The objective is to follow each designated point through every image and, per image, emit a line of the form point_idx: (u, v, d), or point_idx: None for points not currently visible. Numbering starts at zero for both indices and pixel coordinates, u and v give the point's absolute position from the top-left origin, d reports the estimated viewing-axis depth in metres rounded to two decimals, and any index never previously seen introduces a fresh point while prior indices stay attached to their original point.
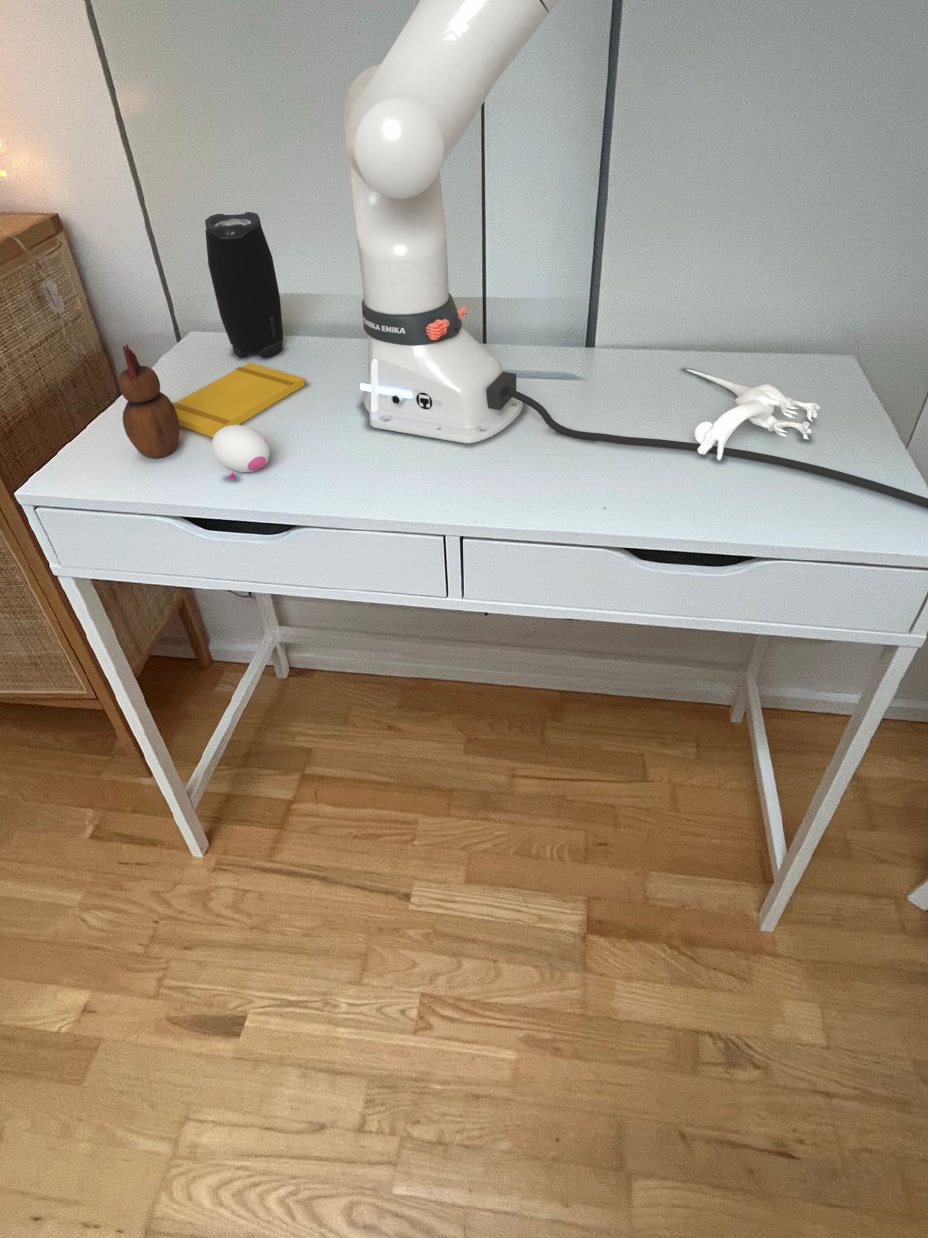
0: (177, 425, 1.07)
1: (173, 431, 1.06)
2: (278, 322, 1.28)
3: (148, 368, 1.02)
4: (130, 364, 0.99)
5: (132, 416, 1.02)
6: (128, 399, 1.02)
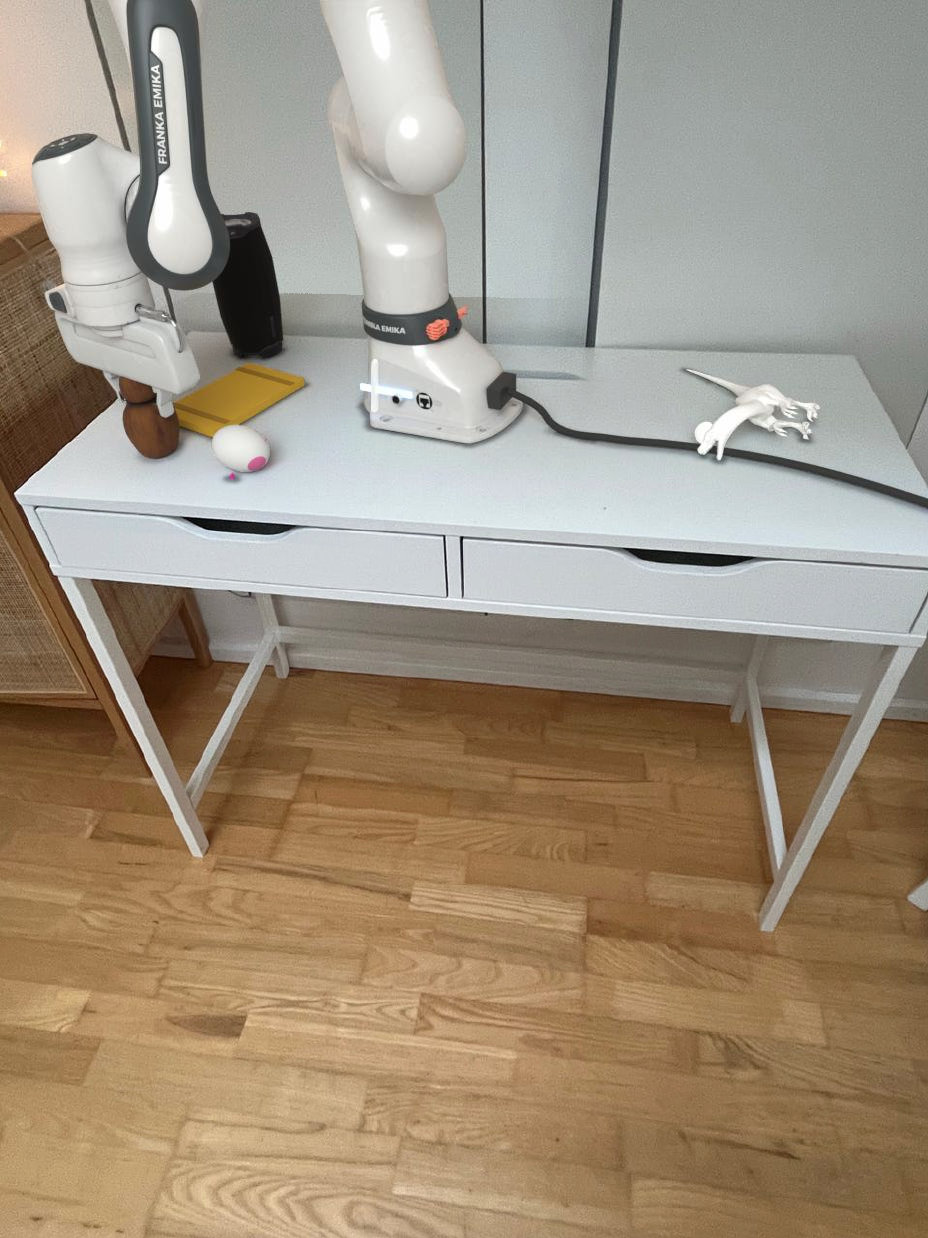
0: (177, 425, 1.07)
1: (173, 431, 1.06)
2: (278, 322, 1.28)
3: None
4: None
5: (132, 416, 1.02)
6: (128, 399, 1.02)
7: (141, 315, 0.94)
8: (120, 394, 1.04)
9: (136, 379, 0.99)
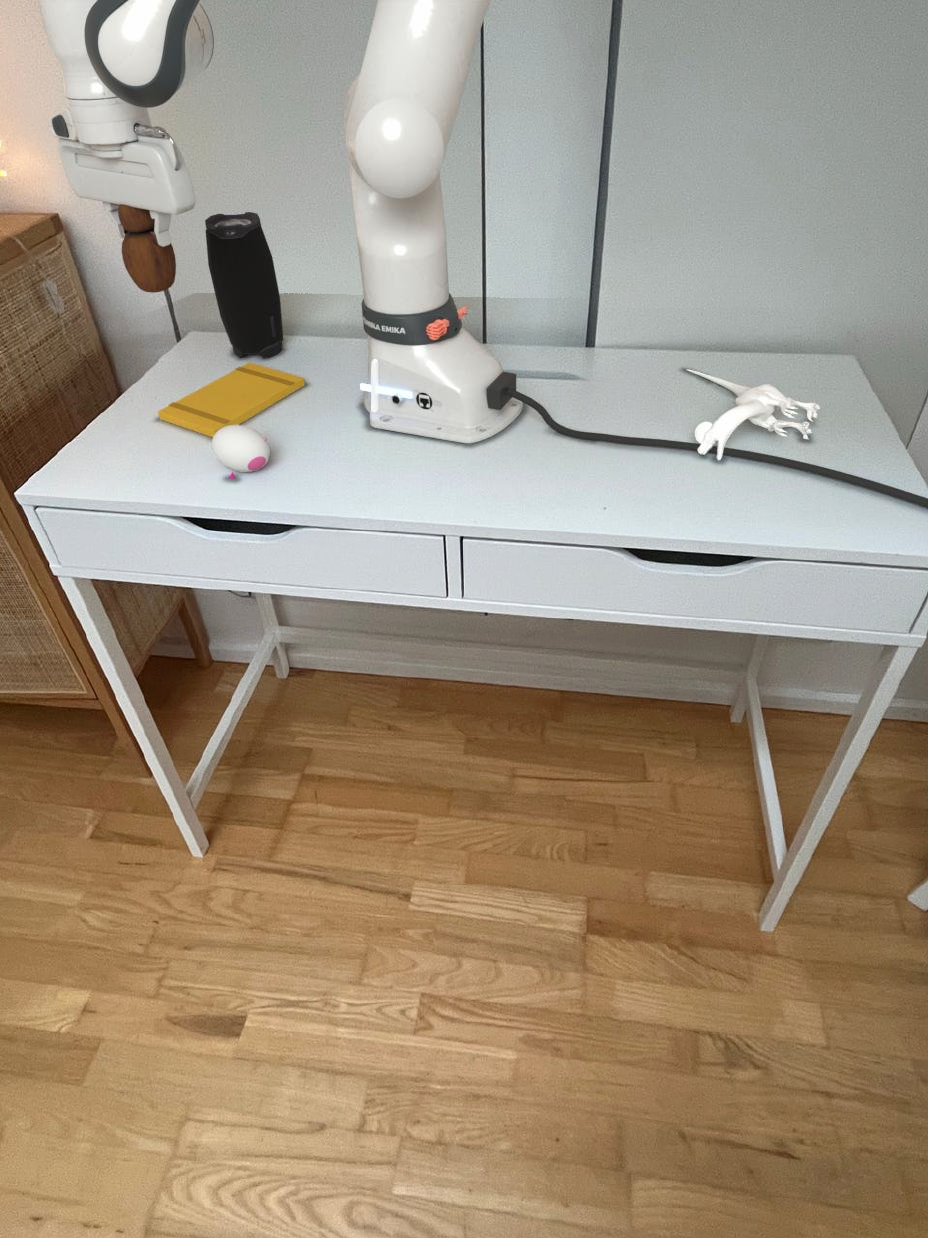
0: (174, 260, 1.12)
1: (170, 264, 1.11)
2: (278, 322, 1.28)
3: None
4: None
5: (131, 245, 1.07)
6: (127, 228, 1.07)
7: (139, 134, 0.99)
8: (119, 227, 1.09)
9: (135, 204, 1.04)
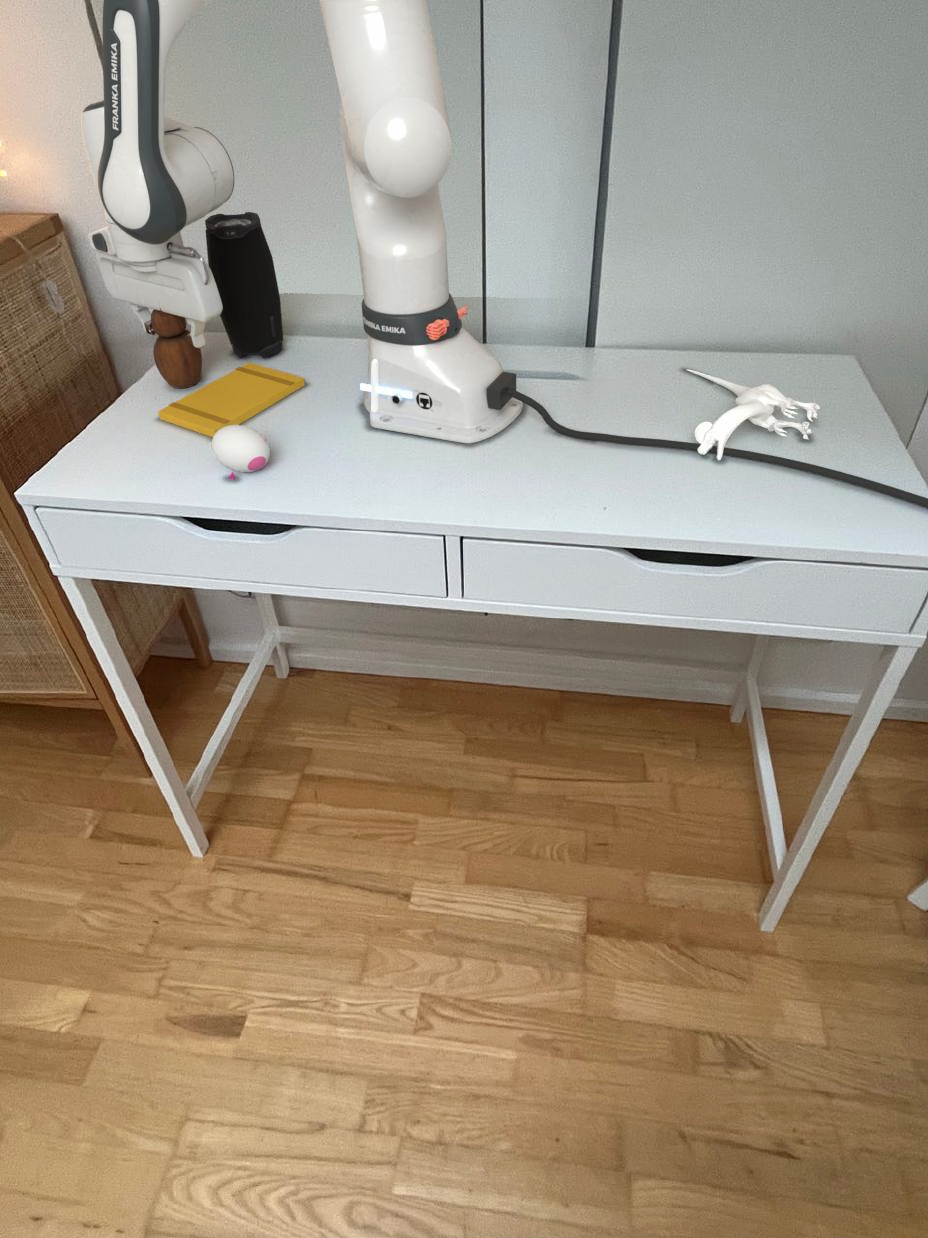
0: (200, 359, 1.22)
1: (197, 363, 1.21)
2: (278, 322, 1.28)
3: None
4: None
5: (162, 348, 1.17)
6: (159, 333, 1.17)
7: (172, 252, 1.09)
8: (145, 325, 1.20)
9: (167, 311, 1.14)
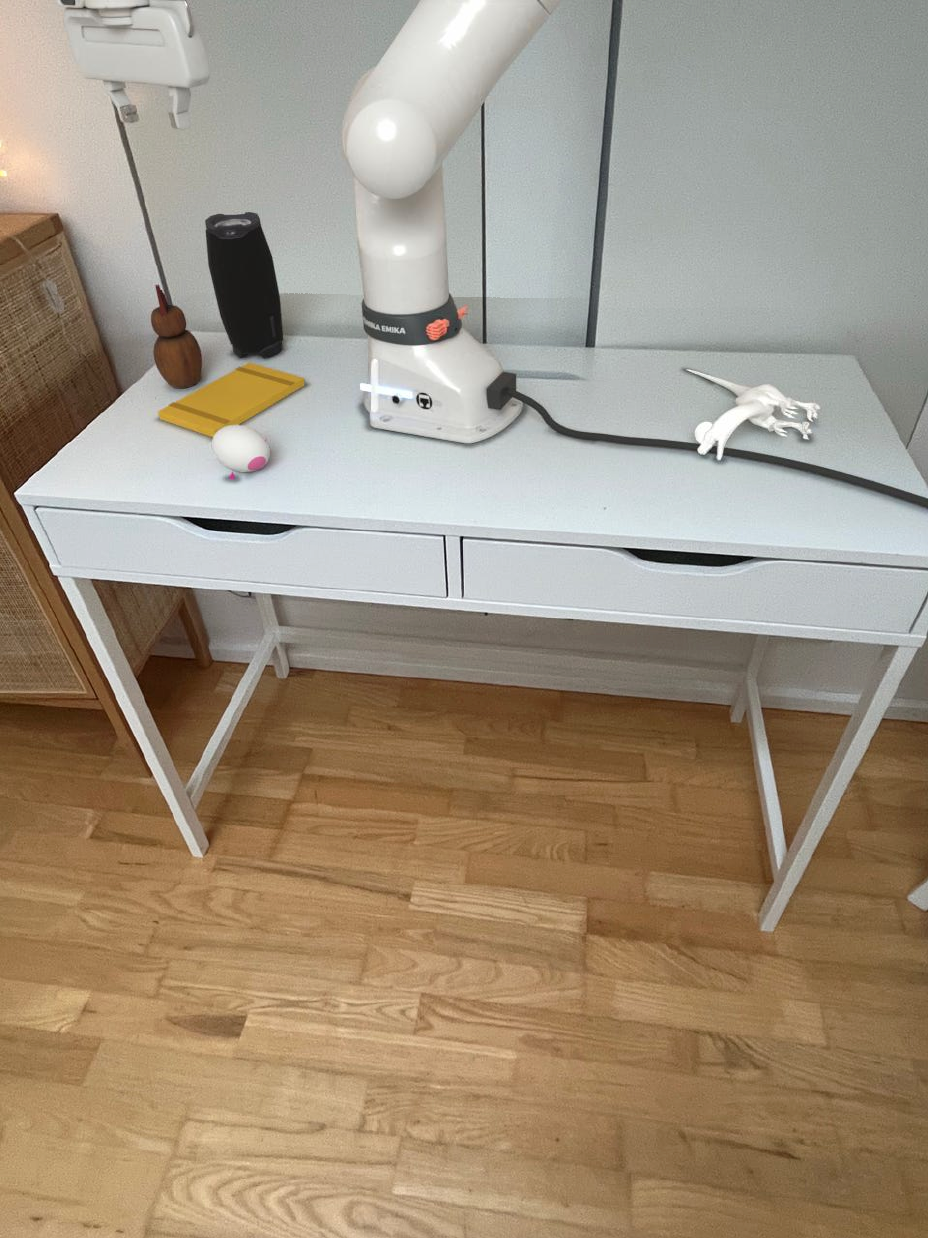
0: (200, 359, 1.22)
1: (197, 363, 1.21)
2: (278, 322, 1.28)
3: (176, 307, 1.17)
4: (161, 301, 1.14)
5: (162, 348, 1.17)
6: (159, 333, 1.17)
7: None
8: (121, 110, 1.04)
9: (145, 80, 0.98)
